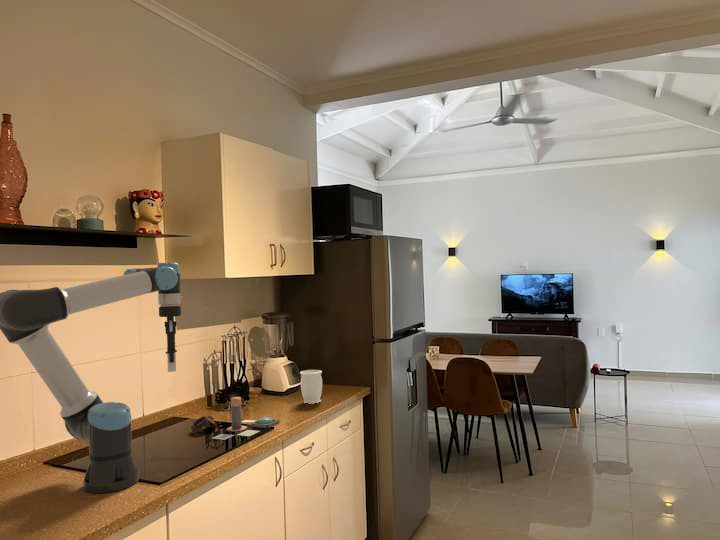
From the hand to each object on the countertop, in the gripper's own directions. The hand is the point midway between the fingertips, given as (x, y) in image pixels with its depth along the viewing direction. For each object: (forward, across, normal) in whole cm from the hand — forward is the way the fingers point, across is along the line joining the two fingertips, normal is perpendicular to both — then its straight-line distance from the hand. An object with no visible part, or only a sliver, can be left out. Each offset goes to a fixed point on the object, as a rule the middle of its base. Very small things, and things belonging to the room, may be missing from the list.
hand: (171, 371), depth 191 cm
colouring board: (+28, +9, -25) cm, 39 cm away
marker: (+27, +13, -24) cm, 38 cm away
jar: (+29, +47, -64) cm, 85 cm away
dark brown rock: (+29, +16, -12) cm, 35 cm away
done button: (+27, +13, -35) cm, 46 cm away
